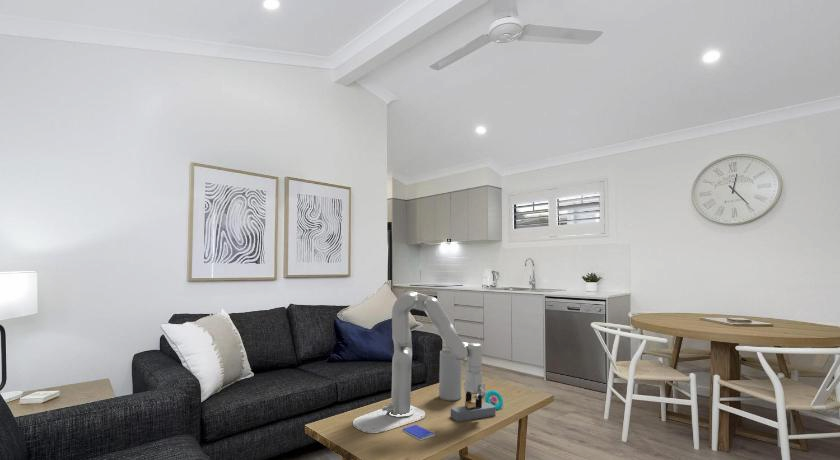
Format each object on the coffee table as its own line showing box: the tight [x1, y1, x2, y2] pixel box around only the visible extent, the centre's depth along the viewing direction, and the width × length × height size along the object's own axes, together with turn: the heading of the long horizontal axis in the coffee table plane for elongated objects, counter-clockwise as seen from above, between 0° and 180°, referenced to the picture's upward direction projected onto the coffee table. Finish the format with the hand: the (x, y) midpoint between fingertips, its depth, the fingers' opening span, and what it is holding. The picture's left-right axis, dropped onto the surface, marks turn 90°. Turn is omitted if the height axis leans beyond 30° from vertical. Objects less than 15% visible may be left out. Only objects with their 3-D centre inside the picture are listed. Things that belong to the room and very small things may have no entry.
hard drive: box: [402, 424, 436, 441], centre depth 186 cm, size 2×8×12 cm
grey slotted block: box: [450, 402, 497, 423], centre depth 209 cm, size 22×7×4 cm, turn 117°
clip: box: [464, 399, 480, 410], centre depth 209 cm, size 8×3×6 cm, turn 118°
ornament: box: [484, 390, 504, 411], centre depth 223 cm, size 11×4×10 cm
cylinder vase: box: [438, 349, 463, 401], centre depth 237 cm, size 12×12×25 cm
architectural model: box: [478, 382, 486, 396], centre depth 242 cm, size 3×7×7 cm, turn 146°
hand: (473, 404), depth 209 cm, fingers open, 8 cm apart
